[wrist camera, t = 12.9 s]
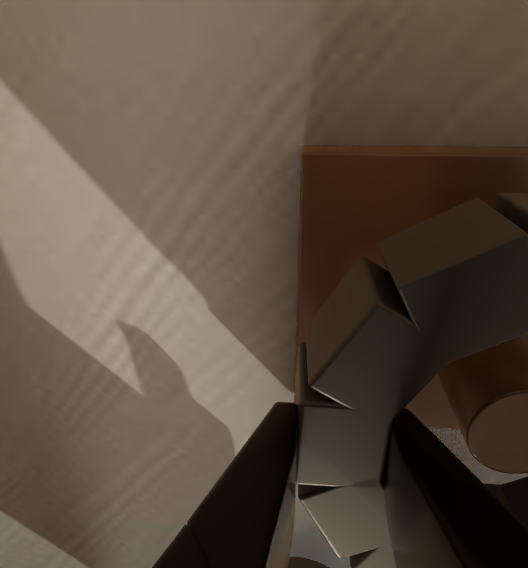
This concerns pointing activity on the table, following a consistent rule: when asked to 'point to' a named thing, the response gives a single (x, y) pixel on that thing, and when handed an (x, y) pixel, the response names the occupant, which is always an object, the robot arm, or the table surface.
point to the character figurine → (303, 563)
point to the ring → (401, 359)
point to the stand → (363, 242)
